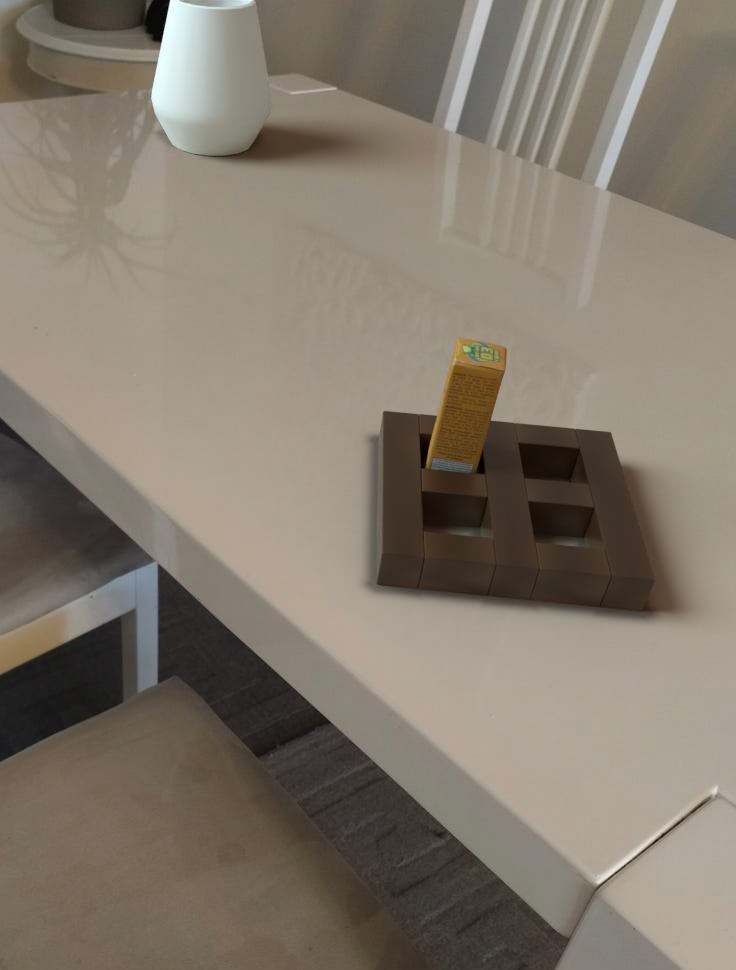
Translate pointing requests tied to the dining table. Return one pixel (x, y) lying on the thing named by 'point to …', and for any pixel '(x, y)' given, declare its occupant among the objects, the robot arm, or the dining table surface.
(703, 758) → the dining table surface
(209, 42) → the white vase
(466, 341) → the supplement box
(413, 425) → the socket block
